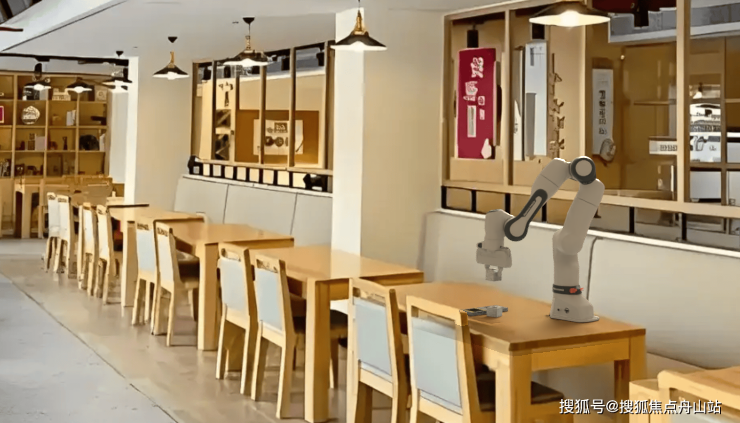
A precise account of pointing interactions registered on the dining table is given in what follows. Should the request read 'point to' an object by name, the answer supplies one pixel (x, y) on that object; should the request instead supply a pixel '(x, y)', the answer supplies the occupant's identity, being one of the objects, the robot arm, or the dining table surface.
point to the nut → (494, 311)
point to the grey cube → (492, 275)
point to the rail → (481, 310)
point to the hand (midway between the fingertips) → (493, 275)
